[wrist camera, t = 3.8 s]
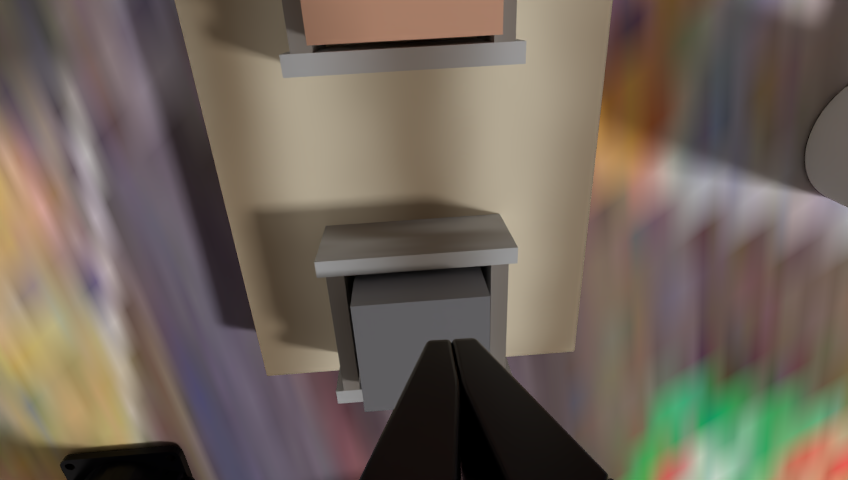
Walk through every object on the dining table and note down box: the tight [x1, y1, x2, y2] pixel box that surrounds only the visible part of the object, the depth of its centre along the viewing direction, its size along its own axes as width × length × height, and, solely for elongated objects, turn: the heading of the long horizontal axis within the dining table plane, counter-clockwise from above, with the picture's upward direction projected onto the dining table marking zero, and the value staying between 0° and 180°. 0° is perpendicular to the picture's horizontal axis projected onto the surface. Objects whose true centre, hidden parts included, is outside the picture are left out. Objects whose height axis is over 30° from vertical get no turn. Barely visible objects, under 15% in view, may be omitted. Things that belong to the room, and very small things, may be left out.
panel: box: [174, 0, 613, 403], centre depth 17 cm, size 14×20×6 cm
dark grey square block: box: [350, 266, 490, 412], centre depth 17 cm, size 4×4×3 cm
